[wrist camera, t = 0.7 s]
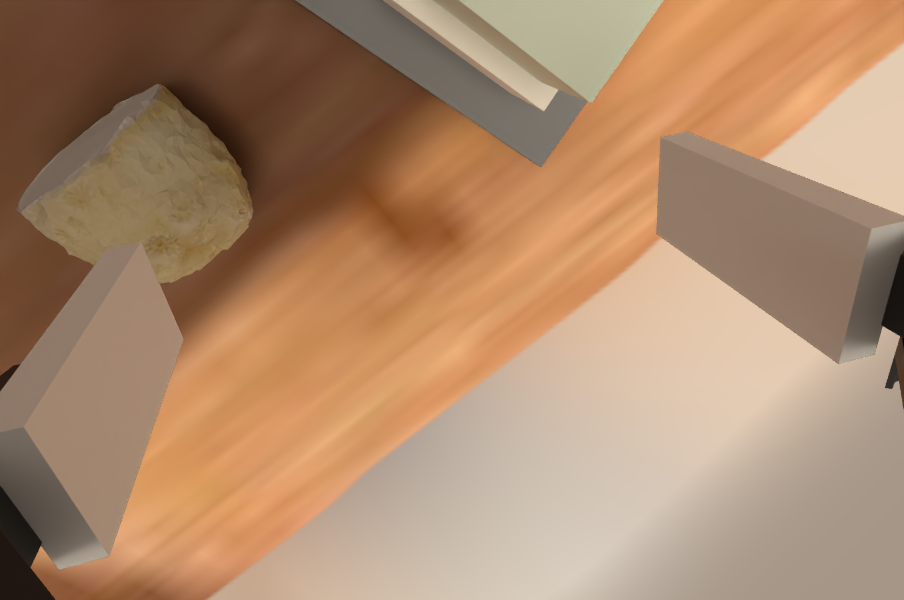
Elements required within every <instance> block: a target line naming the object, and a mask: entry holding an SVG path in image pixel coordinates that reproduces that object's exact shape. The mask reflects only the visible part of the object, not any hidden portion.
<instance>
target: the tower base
mask: <svg viewBox="0 0 904 600" xmlns="http://www.w3.org/2000/svg"><path fill="white" fill-rule="evenodd" d="M383 1H384V2H385V3H387V4H388V5H390V6H391V7H392V8H394V9H395V10H396V11H398V12H399V13H401V14H402V15H403V16H405V17H406V18H407V19H409V20H410V21H412V22H413V23H414V24H416V25H417V26H418V27H420V28H421V29H422V30H424V31H425V32H427V33H428V34H429V35H431V36H432V37H433V38H435V39H436V40H438V41H439V42H440V43H442V44H443V45H444V46H446V47H447V48H449V49H450V50H451V51H453V52H454V53H455V54H457V55H458V56H459V57H461V58H462V59H464V60H465V61H466V62H468V63H469V64H470V65H472V66H473V67H475V68H476V69H477V70H479V71H480V72H481V73H483V74H484V75H486V76H487V77H488V78H490V79H491V80H492V81H494V82H495V83H496V84H498V85H499V86H501V87H502V88H503V89H505V90H506V91H507V92H509V93H511V94H512V95H514V96H516V97H518V98H520V99H522V100H524V101H525V102H527V103H529V104H531V105H533V106H535V107H537V108H538V109H540V110H542V111H545V109H546V108H547V106H548V105H549V103H550V102H551V100H552V99H553V97H554V96H555V94H556V93H557V91H558V89H556V88H553V87H551V86H549V85H546V84H544V83H541V82H540V81H538V80H537V79H536V78H535V77H533V76H532V75H531V74H529V73H528V72H527V71H525V70H524V69H523V68H521V67H520V66H519V65H517V64H516V63H515V62H514V61H512V60H511V59H510V58H508V57H507V56H506V55H504V54H503V53H502V52H500V51H499V50H498V49H496V48H495V47H494V46H493V45H491V44H490V43H489V42H487V41H486V40H485V39H483V38H482V37H481V36H479V35H478V34H477V33H475V32H474V31H473V30H472V29H470V28H469V27H468V26H466V25H465V24H464V23H462V22H461V21H460V20H458V19H457V18H456V17H454V16H453V15H452V14H451V13H449V12H448V11H447V10H445V9H444V8H443V7H441V6H440V5H439V4H437V3H436V2H435V1H433V0H383Z"/></svg>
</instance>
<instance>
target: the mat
mask: <svg viewBox="0 0 904 600" xmlns="http://www.w3.org/2000/svg"><path fill="white" fill-rule="evenodd" d="M295 1H297V2H298V3H300V4H301V5H303V6H304V7H306V8H307V9H309V10H310V11H312V12H313V13H315V14H316V15H318V16H319V17H320V18H322V19H323V20H325V21H326V22H328V23H329V24H331V25H332V26H334V27H335V28H337V29H338V30H340V31H341V32H342V33H344V34H345V35H347V36H348V37H350V38H351V39H353V40H354V41H356V42H357V43H359V44H360V45H362V46H363V47H365V48H366V49H367V50H369V51H370V52H372V53H373V54H375V55H376V56H378V57H379V58H381V59H382V60H384V61H385V62H387V63H388V64H390V65H391V66H392V67H394V68H395V69H397V70H398V71H400V72H401V73H403V74H404V75H406V76H407V77H409V78H410V79H412V80H413V81H414V82H416V83H417V84H419V85H420V86H422V87H423V88H425V89H426V90H428V91H429V92H431V93H432V94H434V95H435V96H437V97H438V98H439V99H441V100H442V101H444V102H445V103H447V104H448V105H450V106H451V107H453V108H454V109H456V110H457V111H459V112H460V113H461V114H463V115H464V116H466V117H467V118H469V119H470V120H472V121H473V122H475V123H476V124H478V125H479V126H481V127H482V128H484V129H485V130H486V131H488V132H489V133H491V134H492V135H494V136H495V137H497V138H498V139H500V140H501V141H503V142H504V143H506V144H507V145H509V146H510V147H511V148H513V149H514V150H516V151H517V152H519V153H520V154H522V155H523V156H525V157H526V158H528V159H529V160H531V161H532V162H533V163H535V164H536V165H538V166H539V167H542V165H543V164H544V163H545V161H546V160H547V158H548V157H549V155H550V154H551V153H552V151H553V150H554V148H555V147H556V145H557V144H558V143H559V141H560V140H561V138H562V137H563V135H564V134H565V133H566V131H567V130H568V128H569V127H570V125H571V124H572V122H573V121H574V120H575V118H576V117H577V115H578V114H579V112H580V111H581V110H582V108H583V107H584V105H585V104H586V102H587V101H584V100H582V99H580V98H577V97H575V96H572V95H570V94H568V93H565V92H563V91H560V90H558V91H557V93H556V94H555V96H554V97H553V99H552V100H551V102H550V103H549V105H548V106H547V108H546V109H545V111H542V110H540V109H538V108H537V107H535V106H533V105H531V104H529V103H527V102H525V101H524V100H522V99H520V98H518V97H516V96H514V95H512V94H511V93H509V92H507V91H506V90H505V89H503V88H502V87H501V86H499V85H498V84H496V83H495V82H494V81H492V80H491V79H490V78H488V77H487V76H486V75H484V74H483V73H481V72H480V71H479V70H477V69H476V68H475V67H473V66H472V65H470V64H469V63H468V62H466V61H465V60H464V59H462V58H461V57H459V56H458V55H457V54H455V53H454V52H453V51H451V50H450V49H449V48H447V47H446V46H444V45H443V44H442V43H440V42H439V41H438V40H436V39H435V38H433V37H432V36H431V35H429V34H428V33H427V32H425V31H424V30H422V29H421V28H420V27H418V26H417V25H416V24H414V23H413V22H412V21H410V20H409V19H407V18H406V17H405V16H403V15H402V14H401V13H399V12H398V11H396V10H395V9H394V8H392V7H391V6H390V5H388V4H387V3H385V2H384V1H383V0H295Z"/></svg>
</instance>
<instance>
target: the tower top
mask: <svg viewBox="0 0 904 600" xmlns="http://www.w3.org/2000/svg"><path fill="white" fill-rule="evenodd" d="M433 1H435V2H436V3H437V4H439V5H440V6H441V7H443V8H444V9H445V10H447V11H448V12H449V13H451V14H452V15H453V16H454V17H456V18H457V19H458V20H460V21H461V22H462V23H464V24H465V25H466V26H468V27H469V28H470V29H472V30H473V31H474V32H475V33H477V34H478V35H479V36H481V37H482V38H483V39H485V40H486V41H487V42H489V43H490V44H491V45H493V46H494V47H495V48H496V49H498V50H499V51H500V52H502V53H503V54H504V55H506V56H507V57H508V58H510V59H511V60H512V61H514V62H515V63H516V64H517V65H519V66H520V67H521V68H523V69H524V70H525V71H527V72H528V73H529V74H531V75H532V76H533V77H535V78H536V79H537V80H538V81H540V82H541V83H544V84H546V85H549V86H551V87H553V88H556V89H558V90H560V91H563V92H565V93H568V94H570V95H572V96H575V97H577V98H580V99H582V100H584V101H587V102H589V103H592V102H593V100H594V99H595V97H596V96H597V95H598V93H599V92H600V90H601V89H602V87H603V86H604V85H605V83H606V82H607V80H608V79H609V77H610V76H611V75H612V73H613V72H614V70H615V69H616V67H617V66H618V65H619V63H620V62H621V60H622V59H623V58H624V56H625V55H626V53H627V52H628V50H629V49H630V48H631V46H632V45H633V43H634V42H635V40H636V39H637V38H638V36H639V35H640V33H641V32H642V30H643V29H644V28H645V26H646V25H647V23H648V22H649V20H650V19H651V18H652V16H653V15H654V13H655V12H656V10H657V9H658V8H659V6H660V5H661V3H662V2H663V0H433Z"/></svg>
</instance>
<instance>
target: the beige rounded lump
mask: <svg viewBox="0 0 904 600" xmlns="http://www.w3.org/2000/svg"><path fill="white" fill-rule="evenodd" d="M16 210H17V211H18V212H19V213H21V214H22V215H23V216H24V217H25V218H27V219H28V220H29V221H30V222H31V224H33V226H34V227H35V228H36V229H37V230H39V231H41V232H42V233H43V234H44V235H45V236H46V237H48V238H50V239H51V240H53V241H56V242H58V243H59V244H60V245H61V246H64V248H65V249H66V251H67V252H68V254H69V255H73V256H76V257H78V258H80V259H82V260H84V261H87V262H89V263H91V264H93V265H94V266H95V264H96V263H97V262H98V260H99V259H100V257H101V256H102V255H103V253H104V252H105V251H106V249H108V248H113V247H118V246H123V245H128V244H133V243H138V242H141V243H142V245H143V247H144V250H145V252H146V254H147V257H148V259H149V261H150V263H151V266H152V268H153V270H154V273H155V275H156V277H157V279H158V282H159V283H165V282H171V283H172V282H175V281H176V280H178V279H180V278H181V277H184V276H187V275H190V274H192V273H193V272H195V271H196V270H201V269H202V268H203V267H204V266H205V265H206V264H208V263H209V262H210V261H211V260H212V259H213V258H214V257H215V256H216V255H217V254H218V253H220V252H221V251H222V250H228V249H229V248H230V247H231V246H232V245H233V243H234V242H235V241H236V240H237V239H238V238H239V237H240V236H241V235H242V234H243V233H244V232H245V231H246V229H247V228H248V227H249V222H250V220H251V219H252V214H253V208H252V201H251V198H250V194H249V191H248V189H247V181H246V179H245V178H243V176H242V174H241V168H240V167H239V166H238V165H237V164H236V161H235V159H234V158H233V157H232V156H231V155H230V154H229V152H228V150H227V148H226V146H225V144H224V143H223V142H222V141H221V140H219V139H218V138H217V137H215V136H214V134H213V133H212V132H211V131H210V129H209V127H208V126H207V125H206V124H205V123H204V122H202V121H200V120H199V119H198V118H197V117H196V116H195V115H193V114H192V113H191V112H190V111H189V110H188V109H186V108H185V107H184V106H183V104H182V103H181V102H180V100H178V99H177V98H176V97H175V96H174V95H173V94H172V93H171V92H170V91H169V90H168V89H167V88H166V87H165V86H163V85H160V84H156V85H154V86H153V87H151V88H149V89H147V90H146V91H144V92H142V93H140V94H137V95H135V96H132V97H130V98H128V99H126V100H124V101H120V102H119V103H117V104H116V105H115V106H114V107H113V109H112V111H111V112H110V113H109V114H108V115H106V116H104V117H102V118H101V119H100V120H99V121H97V122H96V123H95V124H94V125H92V126H91V127H90V128H89V129H88V130H86V131H85V132H84V133H83V134H81V135H80V136H79V137H78V138H76V139H75V140H74V141H73V142H72V143H70V144H69V145H68V146H67V147H66V148H64V149H63V150H61V151H60V152H59V153H58V154H57V155H56V156H55V157H54V158H53V159H52V160H51V161H50V162H49V163H48V164H47V165H46V166H45V167H44V168H43V169H42V170H41V171H40V173H39V174H38V175H37V176H36V177H35V179H34V180H33V181H32V183H31V184H30V185H29V187H28V188H27V189H26V191H25V192H24V193H23V195H22V197H21V199H20V201H19V204H18V208H16Z"/></svg>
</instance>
